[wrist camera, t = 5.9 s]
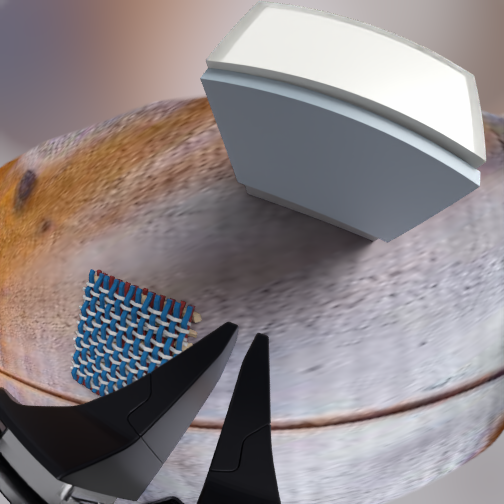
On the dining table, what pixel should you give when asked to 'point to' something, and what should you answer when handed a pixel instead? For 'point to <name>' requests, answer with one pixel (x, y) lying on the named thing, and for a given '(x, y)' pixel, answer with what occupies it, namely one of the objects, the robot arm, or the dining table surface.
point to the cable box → (357, 77)
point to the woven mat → (126, 333)
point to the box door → (333, 155)
